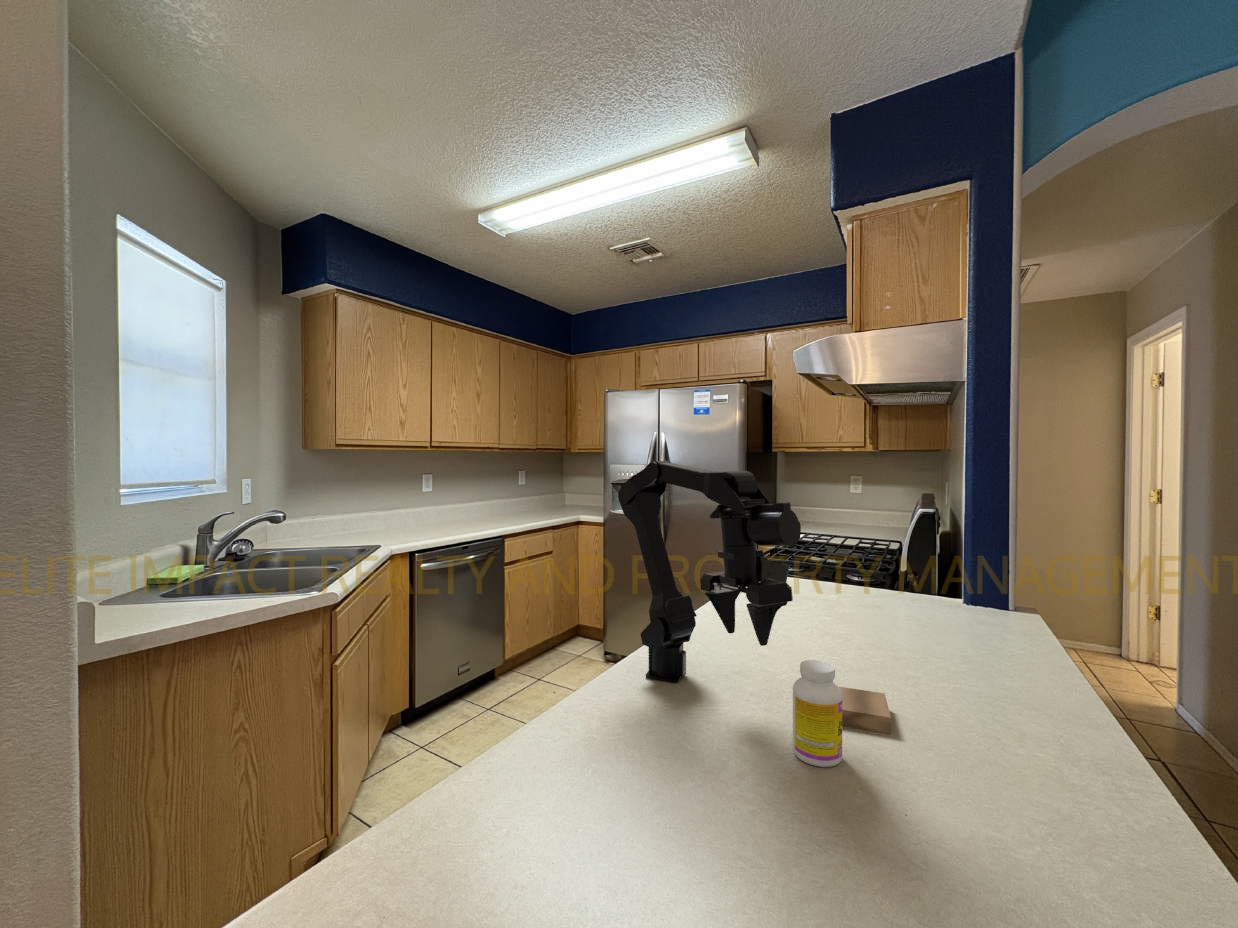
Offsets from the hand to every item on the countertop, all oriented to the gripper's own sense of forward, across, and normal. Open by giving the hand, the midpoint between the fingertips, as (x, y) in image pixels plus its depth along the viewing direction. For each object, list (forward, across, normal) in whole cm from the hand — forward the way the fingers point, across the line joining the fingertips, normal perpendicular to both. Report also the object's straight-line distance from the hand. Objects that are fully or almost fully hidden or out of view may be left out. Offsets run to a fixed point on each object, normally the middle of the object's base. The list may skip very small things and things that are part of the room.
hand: (746, 638), depth 87 cm
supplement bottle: (+14, -13, -2) cm, 19 cm away
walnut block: (+14, -6, -16) cm, 22 cm away
